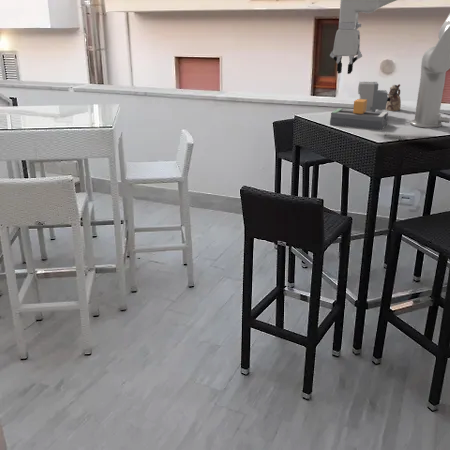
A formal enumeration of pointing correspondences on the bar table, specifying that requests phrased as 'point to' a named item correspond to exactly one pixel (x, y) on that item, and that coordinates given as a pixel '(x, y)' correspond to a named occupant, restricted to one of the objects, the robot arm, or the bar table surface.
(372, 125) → the switch panel
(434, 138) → the bar table surface
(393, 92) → the figurine
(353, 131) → the bar table surface
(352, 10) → the robot arm
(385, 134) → the bar table surface
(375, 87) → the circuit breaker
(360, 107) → the toggle
